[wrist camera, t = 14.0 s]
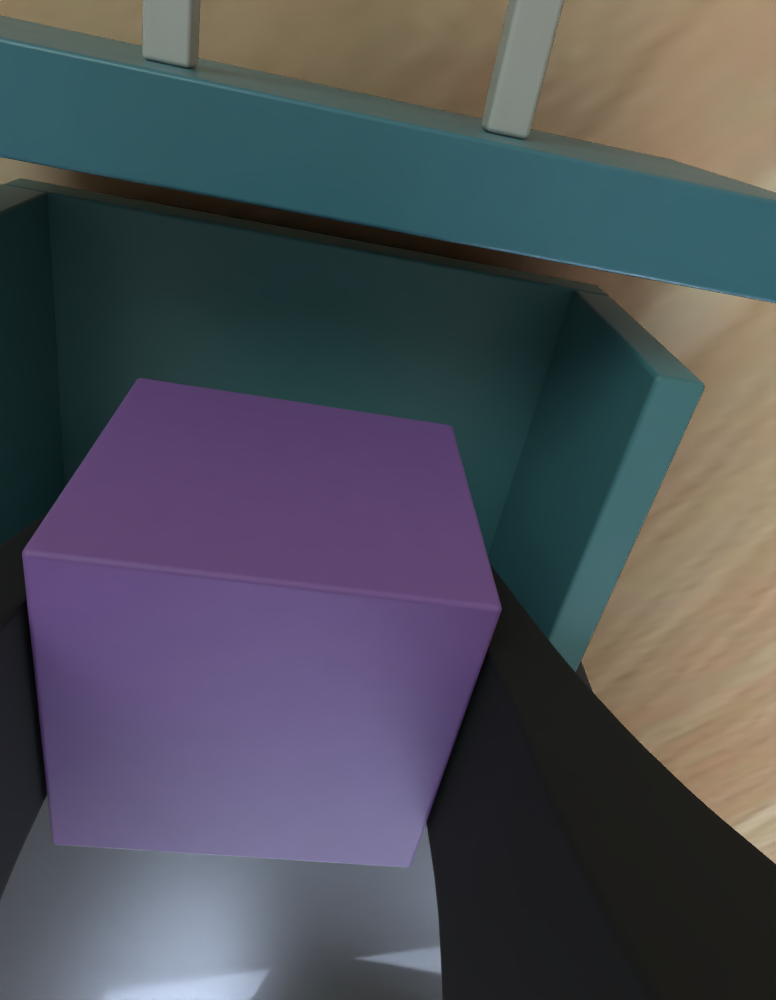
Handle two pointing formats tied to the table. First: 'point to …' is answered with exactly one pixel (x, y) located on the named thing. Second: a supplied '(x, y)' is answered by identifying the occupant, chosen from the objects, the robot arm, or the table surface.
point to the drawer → (358, 280)
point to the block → (256, 628)
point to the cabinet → (215, 926)
